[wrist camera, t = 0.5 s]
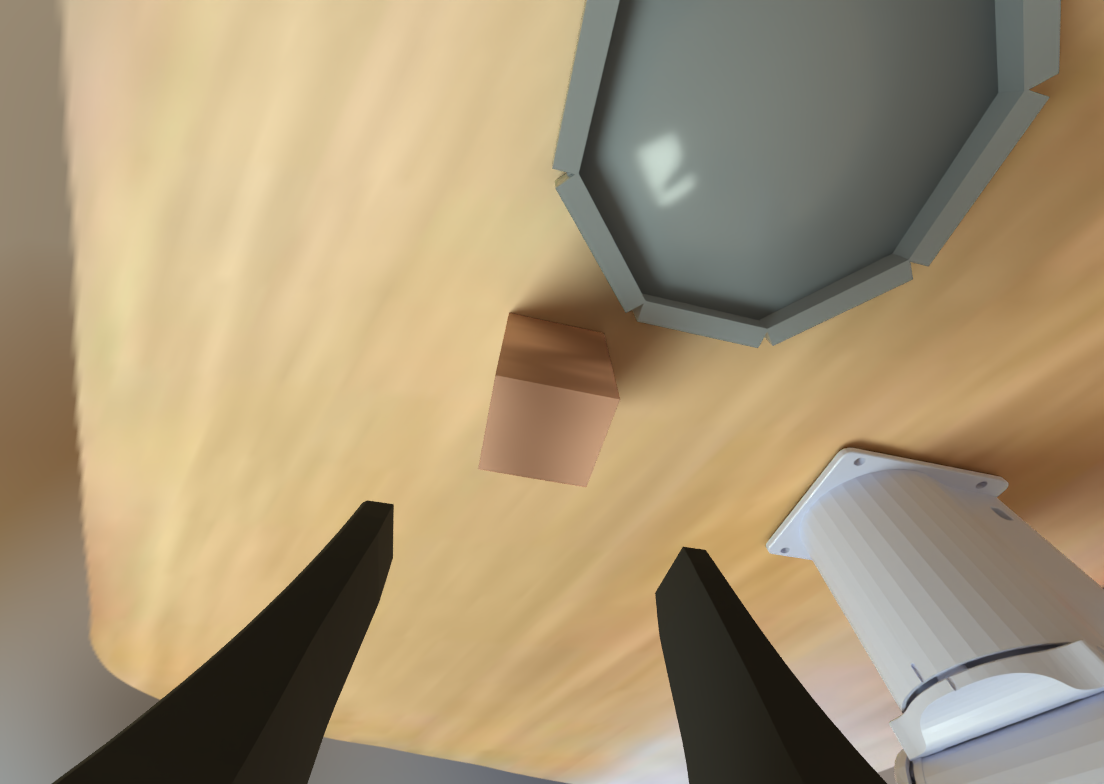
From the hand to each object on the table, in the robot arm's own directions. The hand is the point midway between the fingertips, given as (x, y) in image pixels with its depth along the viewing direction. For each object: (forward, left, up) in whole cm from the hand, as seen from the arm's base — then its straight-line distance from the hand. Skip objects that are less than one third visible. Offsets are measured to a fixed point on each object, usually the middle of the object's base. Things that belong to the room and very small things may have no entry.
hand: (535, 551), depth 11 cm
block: (0, 0, -9) cm, 9 cm away
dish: (-5, -10, -9) cm, 15 cm away
